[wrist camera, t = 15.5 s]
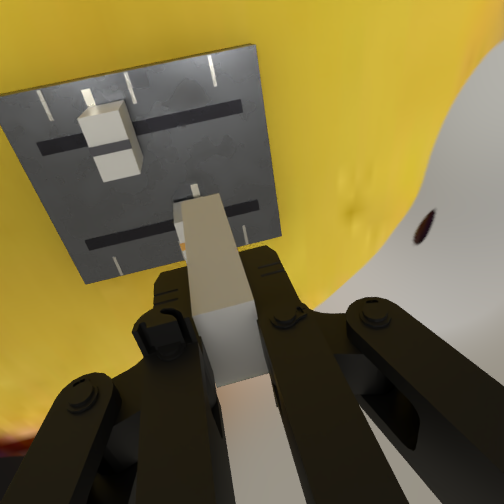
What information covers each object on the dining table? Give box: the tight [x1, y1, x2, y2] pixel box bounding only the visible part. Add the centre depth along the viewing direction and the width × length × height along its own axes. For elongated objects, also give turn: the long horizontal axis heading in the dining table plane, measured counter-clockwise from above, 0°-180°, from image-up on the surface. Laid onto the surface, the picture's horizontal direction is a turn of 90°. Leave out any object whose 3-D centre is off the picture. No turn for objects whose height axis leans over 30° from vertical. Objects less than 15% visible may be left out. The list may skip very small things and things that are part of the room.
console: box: [0, 43, 282, 284], centre depth 36 cm, size 22×19×2 cm
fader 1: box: [77, 100, 144, 182], centre depth 30 cm, size 3×5×5 cm, turn 9°
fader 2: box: [173, 196, 203, 263], centre depth 36 cm, size 3×5×5 cm, turn 9°
